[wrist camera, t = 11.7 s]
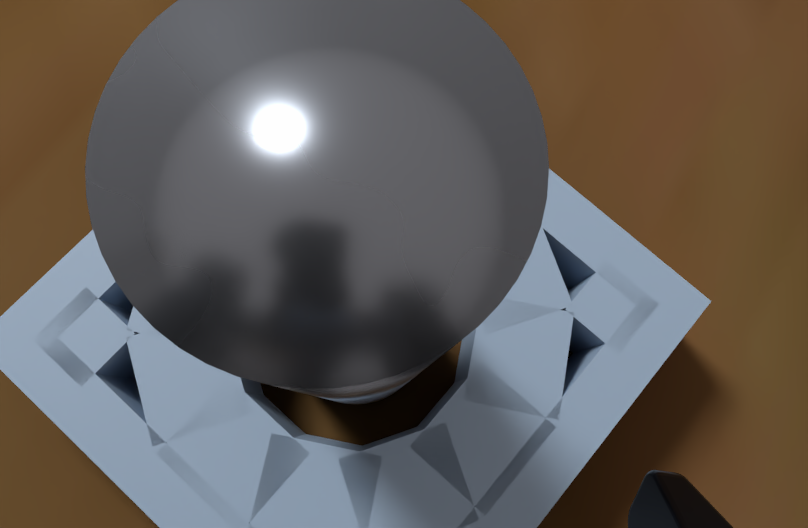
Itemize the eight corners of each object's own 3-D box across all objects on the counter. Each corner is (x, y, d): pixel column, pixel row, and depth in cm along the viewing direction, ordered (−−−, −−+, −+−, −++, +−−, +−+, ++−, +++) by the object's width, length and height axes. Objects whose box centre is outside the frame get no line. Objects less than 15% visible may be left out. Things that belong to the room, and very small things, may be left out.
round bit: (447, 366, 17) (632, 256, 5) (325, 428, 17) (197, 478, 4) (387, 248, 18) (420, -104, 6) (267, 306, 17) (17, 57, 5)
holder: (664, 316, 18) (711, 301, 15) (373, 687, 15) (373, 739, 13) (344, 49, 19) (339, -4, 17) (31, 352, 17) (-28, 342, 14)
